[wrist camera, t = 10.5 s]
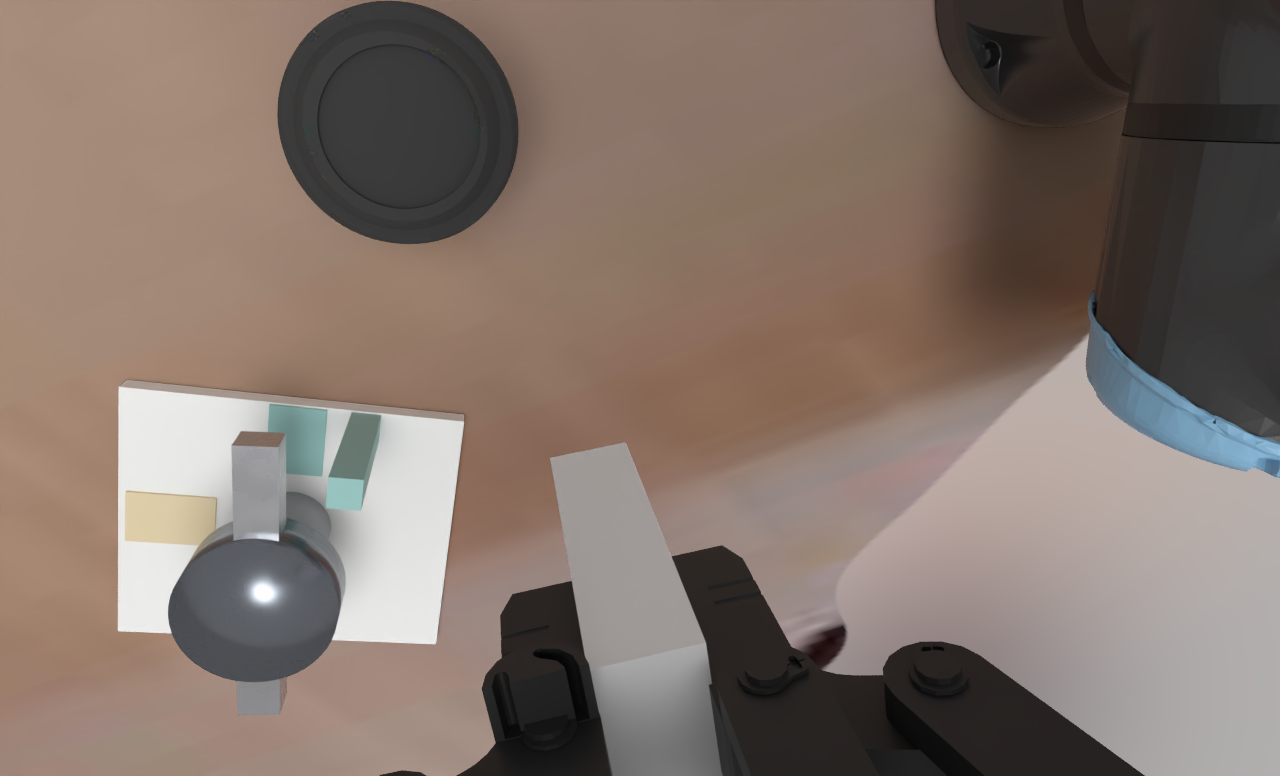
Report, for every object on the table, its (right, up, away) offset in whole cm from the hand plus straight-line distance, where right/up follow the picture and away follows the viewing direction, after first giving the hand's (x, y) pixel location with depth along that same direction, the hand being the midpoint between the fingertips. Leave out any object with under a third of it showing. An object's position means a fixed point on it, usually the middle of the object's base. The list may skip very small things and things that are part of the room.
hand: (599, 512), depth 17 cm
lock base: (-20, -5, +34) cm, 39 cm away
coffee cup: (-11, +17, +28) cm, 35 cm away
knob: (-18, -6, +27) cm, 33 cm away
